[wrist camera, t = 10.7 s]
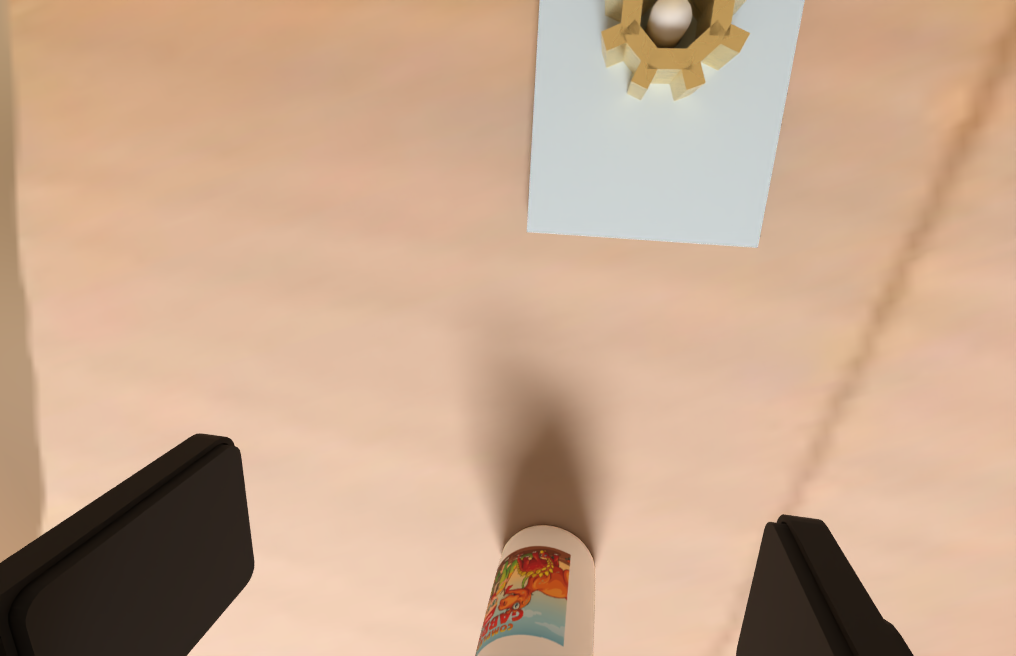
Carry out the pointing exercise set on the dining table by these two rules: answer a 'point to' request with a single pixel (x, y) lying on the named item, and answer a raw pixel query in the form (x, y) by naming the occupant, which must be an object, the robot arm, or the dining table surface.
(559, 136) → the board
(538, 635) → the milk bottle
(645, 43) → the brass gear
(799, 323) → the dining table surface
